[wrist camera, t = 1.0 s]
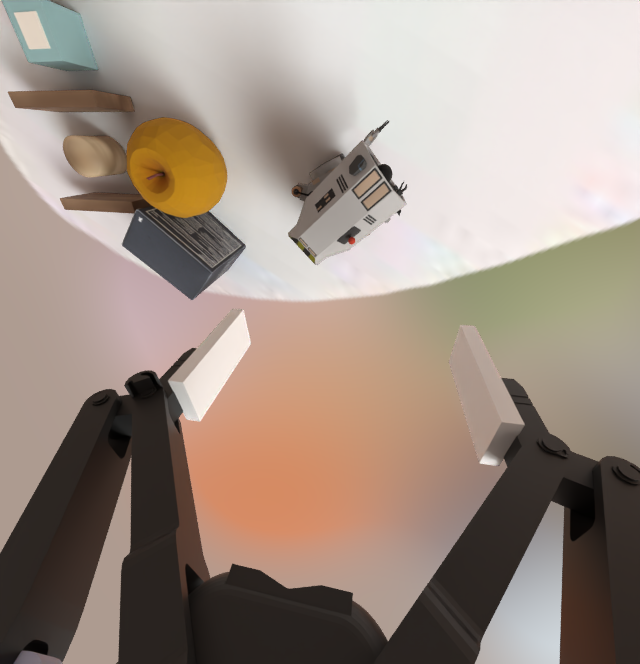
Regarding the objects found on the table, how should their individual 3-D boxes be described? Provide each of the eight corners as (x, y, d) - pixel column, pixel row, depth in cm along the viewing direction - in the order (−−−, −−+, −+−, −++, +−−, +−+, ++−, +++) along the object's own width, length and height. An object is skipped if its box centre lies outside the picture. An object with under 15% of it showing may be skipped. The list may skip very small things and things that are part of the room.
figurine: (413, 202, 34) (430, 235, 22) (332, 241, 39) (309, 286, 27) (387, 122, 30) (391, 109, 18) (300, 176, 35) (257, 193, 23)
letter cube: (46, 16, 31) (-1, -2, 27) (80, 14, 30) (37, -5, 26) (67, 71, 33) (27, 61, 30) (99, 70, 33) (62, 60, 29)
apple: (159, 131, 35) (77, 127, 26) (225, 111, 33) (161, 98, 23) (192, 212, 40) (134, 233, 31) (252, 200, 38) (208, 219, 28)
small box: (170, 225, 42) (117, 245, 34) (188, 191, 39) (134, 205, 30) (226, 273, 45) (190, 303, 37) (247, 245, 42) (213, 272, 33)
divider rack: (-89, -246, 23) (-204, -341, 18) (20, -274, 21) (-77, -386, 17) (98, 202, 42) (65, 209, 38) (162, 205, 40) (135, 213, 36)
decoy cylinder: (91, 136, 37) (56, 135, 33) (120, 136, 36) (87, 135, 32) (106, 173, 39) (74, 177, 35) (132, 174, 39) (103, 178, 35)
